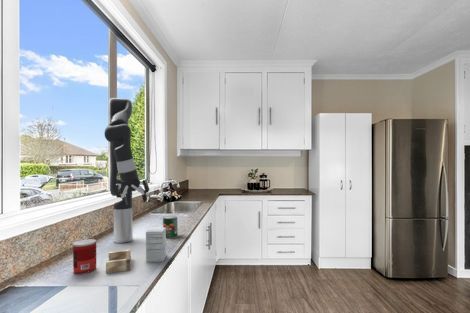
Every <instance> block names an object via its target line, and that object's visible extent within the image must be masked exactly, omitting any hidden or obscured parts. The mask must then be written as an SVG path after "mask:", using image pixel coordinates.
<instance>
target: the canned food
mask: <svg viewBox="0 0 470 313" xmlns="http://www.w3.org/2000/svg"><path fill="white" fill-rule="evenodd" d="M72 250H73V251H72V264H73V273H74V274H77V275H83V274H88V273H91V272H93V271H96V270H97V240H96V239H93V238H89V239H88V238H87V239H81V240H78V241H74V242H73V244H72Z"/></svg>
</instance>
